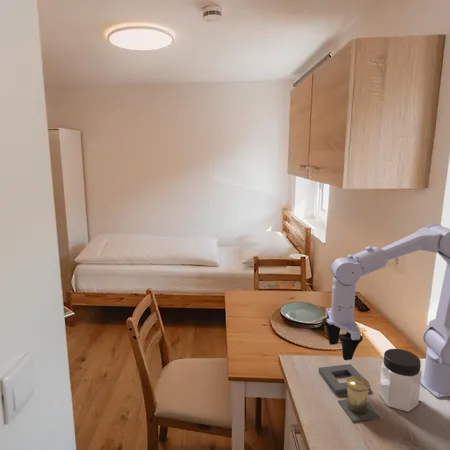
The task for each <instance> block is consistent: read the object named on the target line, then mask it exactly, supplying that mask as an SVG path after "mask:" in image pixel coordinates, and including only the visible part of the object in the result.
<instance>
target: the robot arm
mask: <svg viewBox="0 0 450 450" xmlns="http://www.w3.org/2000/svg"><path fill="white" fill-rule="evenodd" d="M364 249H365V250H362V251H359V252H357V253H354V254H352V253H350V254H348V255H347V257H338V258H336V259H334V262H332V264H331V266H330V267H329V269H330V273H331V274H332V275H333V276H332V286H331V305H330V306H331V307H328V308H327V307H326V308H325V316H327V317H324V318H322V323H323V325H324V327H325V329H326V334H327V339H328V343H329V345H331V346H332V345H338V343H339V340H340V344H341V350H342V351H341V353H342V359H343V360H344V361H349V360H352V359H353V357H354V355H355V352H356V349H357V348H358V347H359V344H360V343H361V342H362V341H363V336H362V335H361V331H360V330H359V329H358V327H357V324H356V322H355V319H354V318H355V317H354V316H355V303H356V283H358V282H359V280H360V278H361V277H363V276H366V275H368V274H370V273H373V272H375V271H379V270H380V269H383V268H385V267H386V266H387V264H388V263H389V261H391V260H393V259H396V258H399V257H402V256H405V255H408V254H411V253H414V252H418V251H426V252H431V253H435V254H436V253H437V254H439V256H440V257H441V258H442V259H443V260H444V261H445V262H446V264H445V265H446V266H445V267H446V268H445V271H444V277H443V281H442V285H441V286H442V287H441V291H440V294H439V295H440V296H439V300H438V306H437V311H436V314H435V318H434V319H432V320H430V321H429V322H428V325H427V328H426V329H424V331H423V334H422V340H423V342H424V344H425V345H426V353H425V361H424V362H425V363H424V370H423V372H424V374H423V376H421V382H420V385H422V386H423V387H424V388H425V389H426V390H427V391H429V392H430V393H431V394H432V395H433V396H434V397H435V398H438V399H441V398H444V397H446V398H447V397H450V228H448V227H445V226H443V225H441V224H435V223H433V224H429V225H428V226H425V227H421V228H419V229H418V230H417V231H415V232H413V233H411V234H409V235H407V236H405V237H403V238H401V239H398V240H397V241H394V242H392V243H390V244H387V245H386V246H384V247H378V246H375V245H374V246H370V245H368V246H365V247H364ZM341 330H343V331H345V332H346V333H342V334H341Z"/></svg>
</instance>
